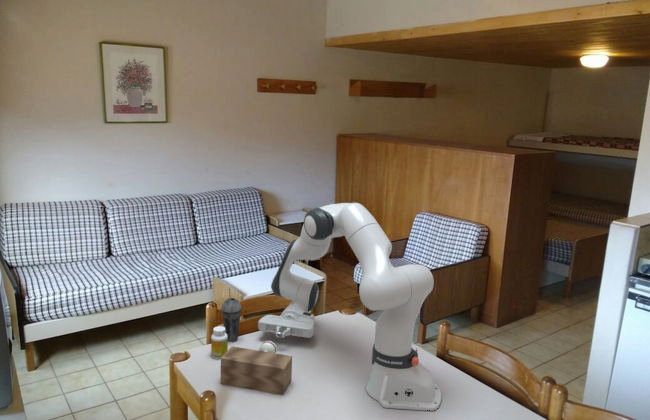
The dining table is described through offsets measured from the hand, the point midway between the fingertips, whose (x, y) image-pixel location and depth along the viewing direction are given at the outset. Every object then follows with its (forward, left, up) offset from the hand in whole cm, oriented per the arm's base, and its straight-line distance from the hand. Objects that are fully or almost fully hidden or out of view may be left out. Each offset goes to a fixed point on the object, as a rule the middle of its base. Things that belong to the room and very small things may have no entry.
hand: (279, 335), depth 172 cm
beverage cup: (+19, -3, -6) cm, 20 cm away
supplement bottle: (+18, +9, -6) cm, 21 cm away
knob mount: (0, +21, -6) cm, 22 cm away
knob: (0, +14, -2) cm, 15 cm away
